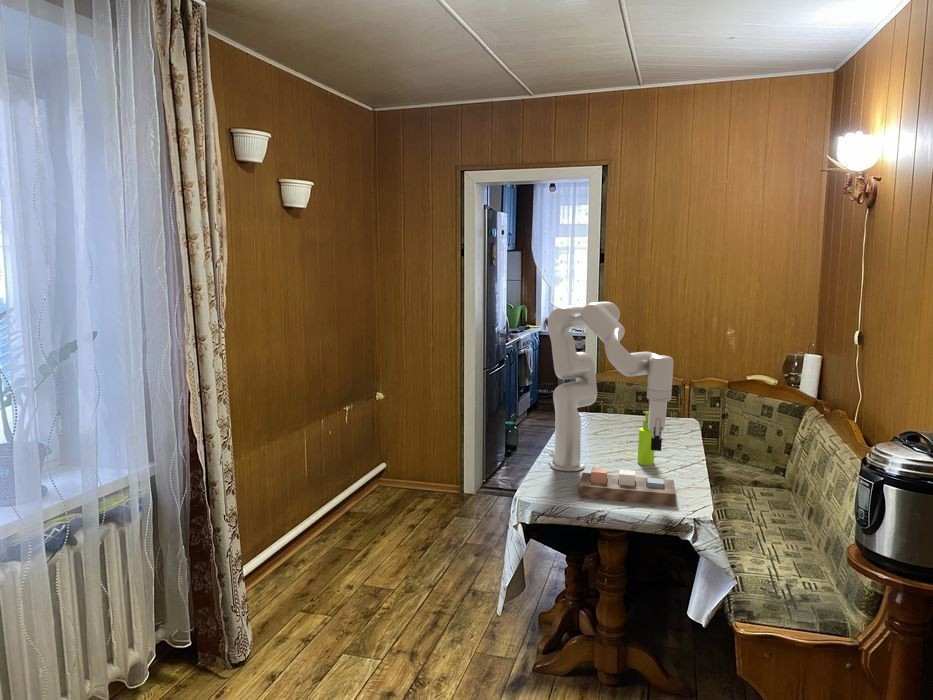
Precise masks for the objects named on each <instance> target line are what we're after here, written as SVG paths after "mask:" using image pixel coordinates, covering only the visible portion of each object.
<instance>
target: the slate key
mask: <svg viewBox="0 0 933 700" xmlns="http://www.w3.org/2000/svg"><path fill="white" fill-rule="evenodd" d="M646 478H647V487H650V488H661V489H664V481H663V479H664V478H653V477H646Z"/></svg>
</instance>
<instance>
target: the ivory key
mask: <svg viewBox="0 0 933 700" xmlns="http://www.w3.org/2000/svg"><path fill="white" fill-rule="evenodd" d="M618 475H619V485H627V486H635V477H636V470H630V469H619V472H618Z"/></svg>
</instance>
